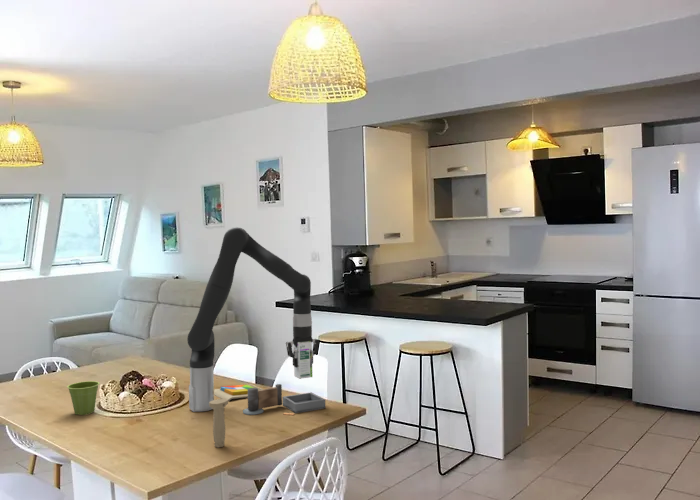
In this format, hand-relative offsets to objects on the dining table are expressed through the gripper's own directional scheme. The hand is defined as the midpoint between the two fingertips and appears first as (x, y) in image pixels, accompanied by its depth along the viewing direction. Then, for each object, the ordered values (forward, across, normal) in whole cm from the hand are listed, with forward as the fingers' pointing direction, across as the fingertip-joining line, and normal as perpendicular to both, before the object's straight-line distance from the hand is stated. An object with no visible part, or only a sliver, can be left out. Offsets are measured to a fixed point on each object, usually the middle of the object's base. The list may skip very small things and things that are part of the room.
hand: (303, 366), depth 247 cm
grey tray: (+17, 0, 0) cm, 17 cm away
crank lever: (+16, +15, -4) cm, 22 cm away
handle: (+17, +43, +27) cm, 53 cm away
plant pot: (+17, +78, -38) cm, 88 cm away
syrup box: (+5, 0, 0) cm, 5 cm away
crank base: (+17, +16, 0) cm, 23 cm away
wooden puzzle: (+17, +16, -33) cm, 41 cm away
